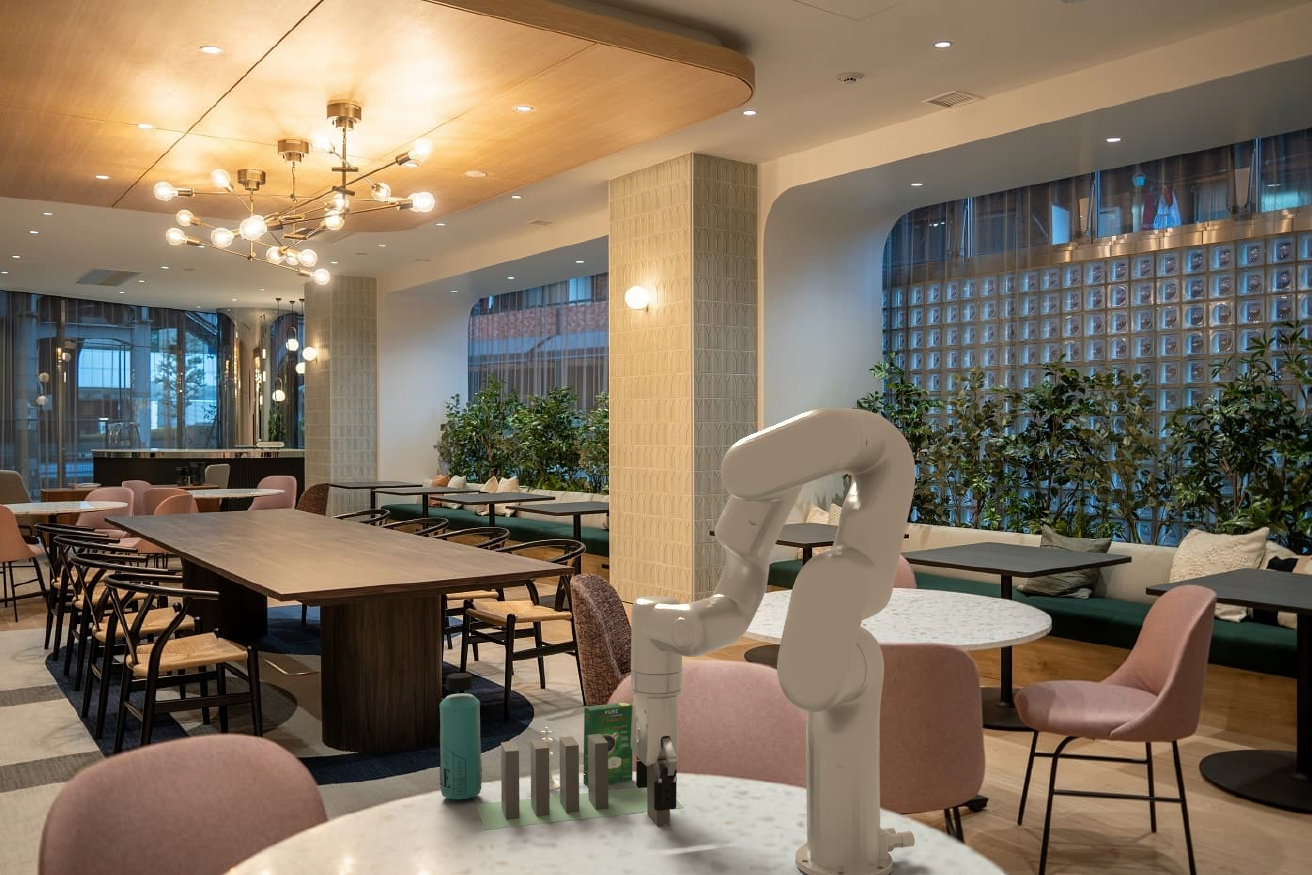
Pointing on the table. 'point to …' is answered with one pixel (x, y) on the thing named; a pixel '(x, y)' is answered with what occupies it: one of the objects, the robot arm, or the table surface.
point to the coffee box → (611, 738)
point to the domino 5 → (656, 816)
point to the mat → (617, 802)
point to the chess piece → (552, 783)
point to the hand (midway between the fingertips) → (655, 797)
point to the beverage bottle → (460, 740)
